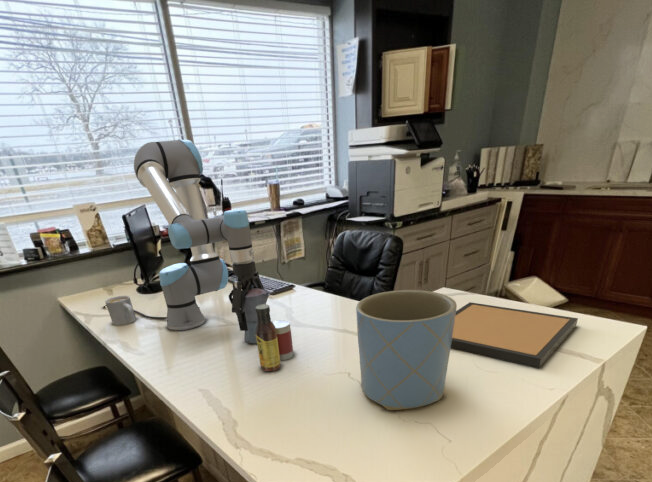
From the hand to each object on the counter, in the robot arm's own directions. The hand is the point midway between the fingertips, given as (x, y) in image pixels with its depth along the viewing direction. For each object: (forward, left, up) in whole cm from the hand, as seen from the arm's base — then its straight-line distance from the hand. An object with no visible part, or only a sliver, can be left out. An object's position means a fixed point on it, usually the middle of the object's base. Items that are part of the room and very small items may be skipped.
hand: (253, 323), depth 144 cm
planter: (+57, -25, -6) cm, 62 cm away
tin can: (+16, -11, -6) cm, 20 cm away
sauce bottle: (+16, -20, -6) cm, 26 cm away
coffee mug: (-69, +8, -6) cm, 70 cm away
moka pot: (0, 0, -6) cm, 6 cm away
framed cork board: (+80, +18, -6) cm, 82 cm away
